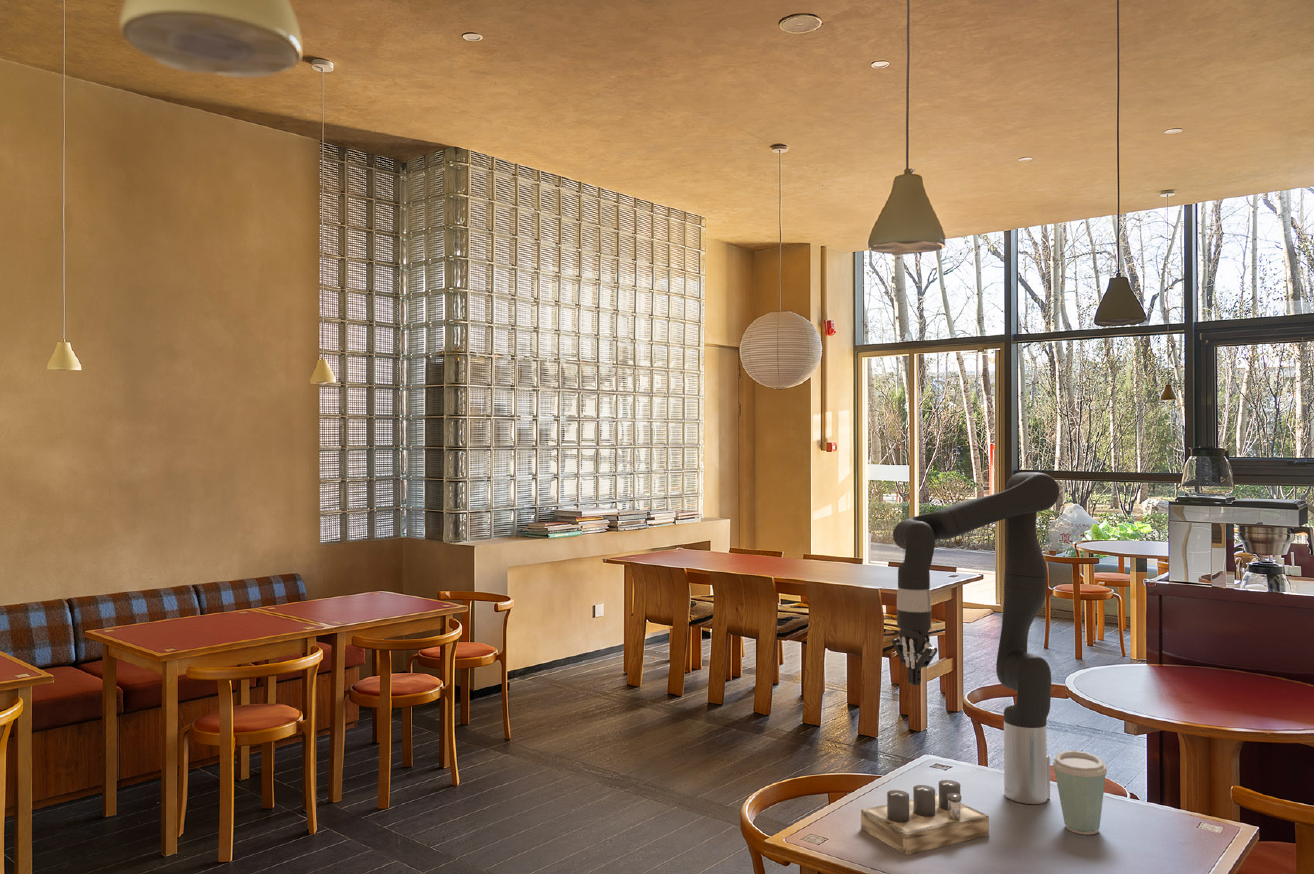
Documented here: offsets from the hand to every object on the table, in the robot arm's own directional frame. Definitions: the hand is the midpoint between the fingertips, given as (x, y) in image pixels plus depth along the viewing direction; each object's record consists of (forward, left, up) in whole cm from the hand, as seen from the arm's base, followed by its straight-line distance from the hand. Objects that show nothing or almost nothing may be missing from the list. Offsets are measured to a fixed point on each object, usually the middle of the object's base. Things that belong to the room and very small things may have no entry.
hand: (914, 684), depth 205 cm
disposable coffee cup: (-22, +26, -27) cm, 44 cm away
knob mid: (+9, +13, -26) cm, 30 cm away
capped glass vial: (+6, +18, -23) cm, 30 cm away
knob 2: (+2, +13, -26) cm, 29 cm away
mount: (+9, +13, -27) cm, 31 cm away
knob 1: (+16, +13, -26) cm, 33 cm away
